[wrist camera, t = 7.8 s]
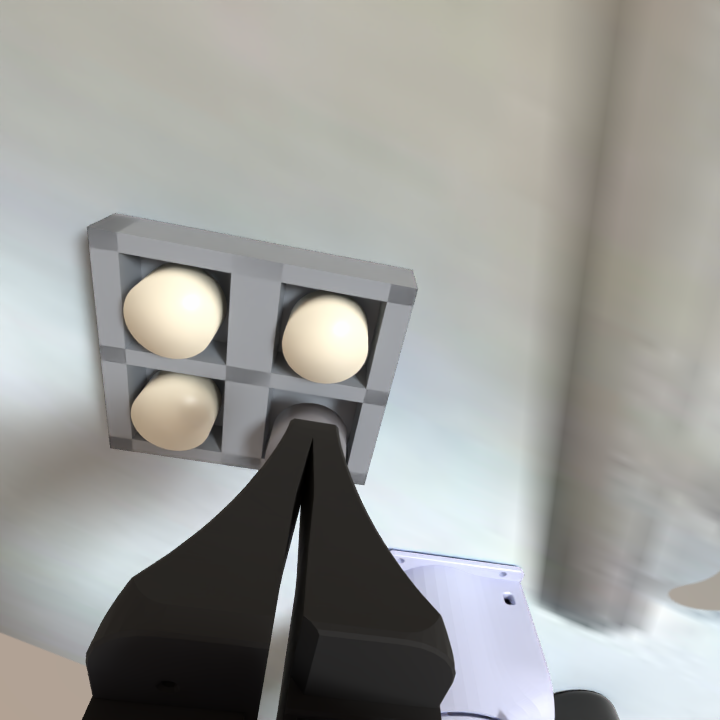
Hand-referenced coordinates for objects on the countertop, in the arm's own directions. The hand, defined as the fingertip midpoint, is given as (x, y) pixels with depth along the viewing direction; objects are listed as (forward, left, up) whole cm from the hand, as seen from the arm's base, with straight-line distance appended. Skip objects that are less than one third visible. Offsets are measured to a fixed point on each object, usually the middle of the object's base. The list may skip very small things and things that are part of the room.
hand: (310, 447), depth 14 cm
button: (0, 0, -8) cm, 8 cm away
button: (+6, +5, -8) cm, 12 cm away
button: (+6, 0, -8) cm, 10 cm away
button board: (+3, +3, -9) cm, 10 cm away
